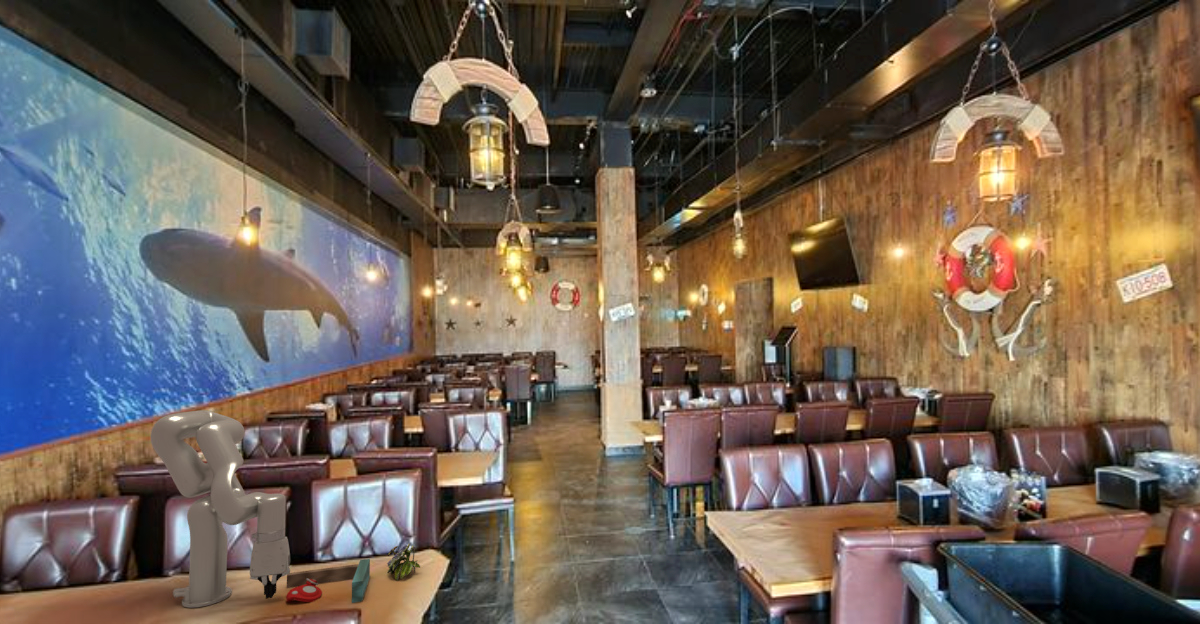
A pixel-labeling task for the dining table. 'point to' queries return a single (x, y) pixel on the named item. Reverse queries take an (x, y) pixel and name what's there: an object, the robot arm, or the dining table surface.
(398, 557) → the passion flower
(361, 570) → the frame
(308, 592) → the tracker holder
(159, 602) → the dining table surface
